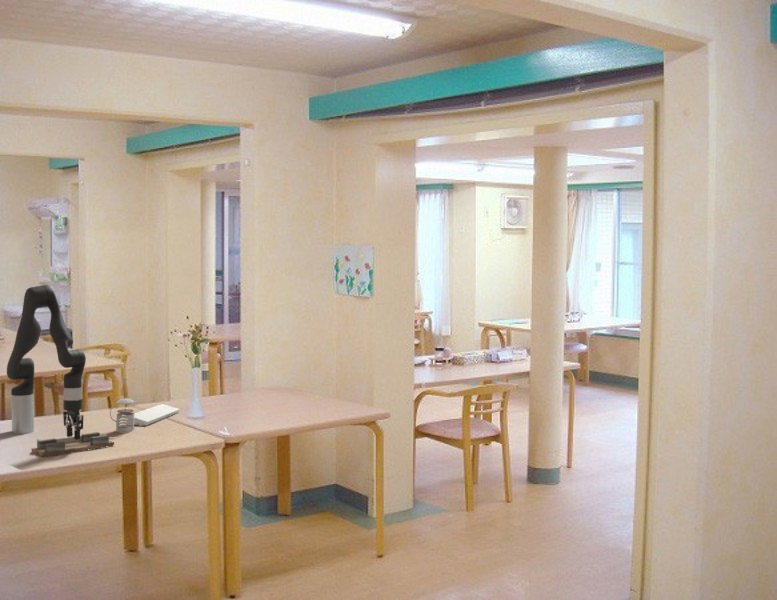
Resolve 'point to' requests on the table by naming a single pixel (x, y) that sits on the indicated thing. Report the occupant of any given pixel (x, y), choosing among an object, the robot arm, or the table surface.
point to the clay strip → (63, 438)
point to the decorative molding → (153, 414)
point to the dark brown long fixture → (71, 445)
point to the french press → (124, 412)
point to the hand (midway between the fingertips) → (73, 437)
